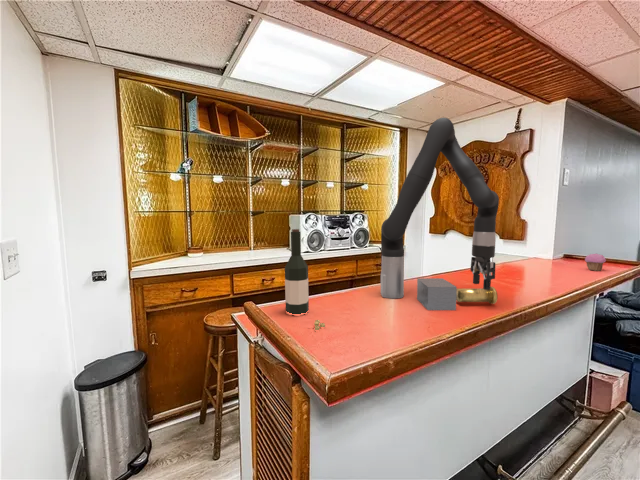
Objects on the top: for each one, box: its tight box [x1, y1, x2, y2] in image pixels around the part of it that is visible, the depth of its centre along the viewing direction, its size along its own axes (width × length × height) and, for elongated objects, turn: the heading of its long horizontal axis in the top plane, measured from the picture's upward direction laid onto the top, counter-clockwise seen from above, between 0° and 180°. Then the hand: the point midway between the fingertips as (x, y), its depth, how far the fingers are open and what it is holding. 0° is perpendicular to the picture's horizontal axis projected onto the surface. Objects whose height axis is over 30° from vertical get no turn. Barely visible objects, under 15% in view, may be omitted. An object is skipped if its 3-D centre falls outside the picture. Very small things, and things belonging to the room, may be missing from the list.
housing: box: [416, 277, 458, 311], centre depth 114 cm, size 10×14×9 cm
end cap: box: [456, 286, 498, 305], centre depth 113 cm, size 13×6×6 cm, turn 87°
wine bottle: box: [284, 228, 310, 314], centre depth 105 cm, size 8×8×30 cm
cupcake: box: [584, 253, 607, 272], centre depth 173 cm, size 9×9×10 cm
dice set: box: [314, 319, 326, 331], centre depth 92 cm, size 5×5×2 cm
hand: (481, 286), depth 112 cm, fingers open, 8 cm apart
